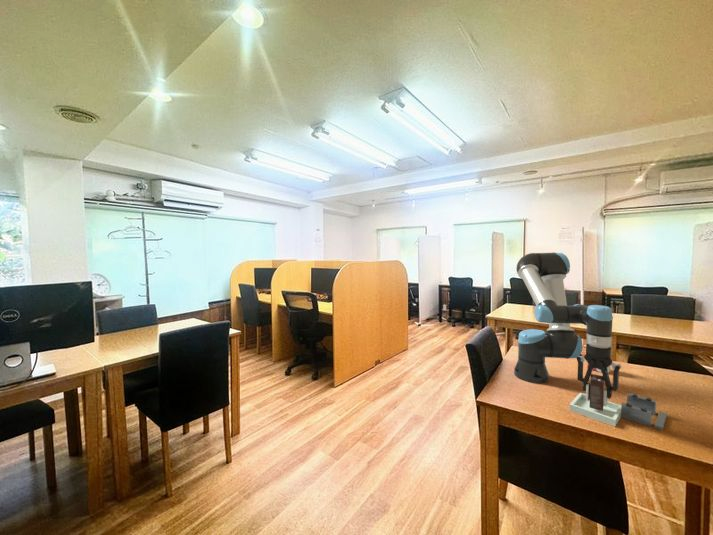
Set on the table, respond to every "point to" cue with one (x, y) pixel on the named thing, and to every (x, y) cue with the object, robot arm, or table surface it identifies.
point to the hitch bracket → (642, 411)
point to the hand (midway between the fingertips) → (596, 402)
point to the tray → (607, 416)
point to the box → (596, 392)
